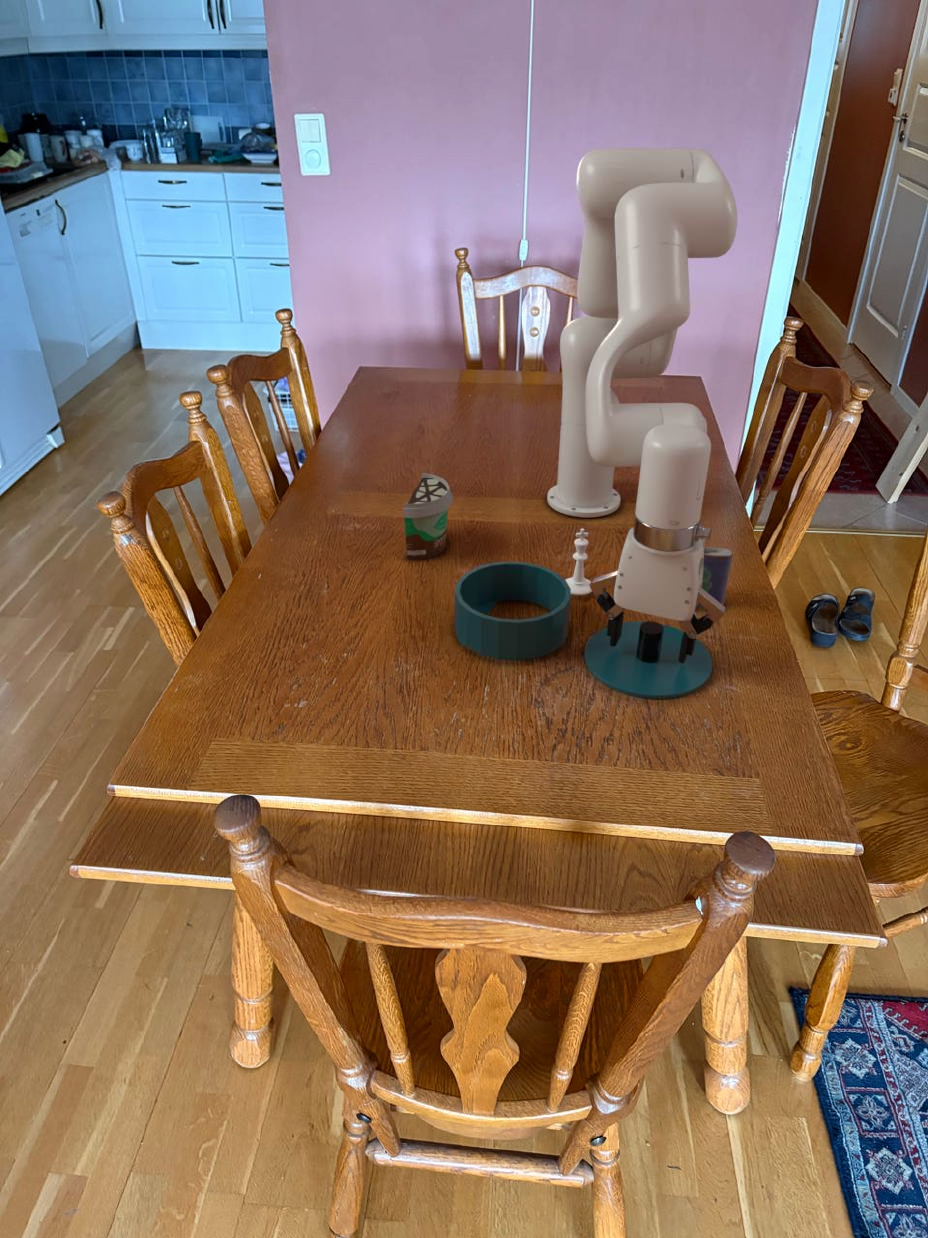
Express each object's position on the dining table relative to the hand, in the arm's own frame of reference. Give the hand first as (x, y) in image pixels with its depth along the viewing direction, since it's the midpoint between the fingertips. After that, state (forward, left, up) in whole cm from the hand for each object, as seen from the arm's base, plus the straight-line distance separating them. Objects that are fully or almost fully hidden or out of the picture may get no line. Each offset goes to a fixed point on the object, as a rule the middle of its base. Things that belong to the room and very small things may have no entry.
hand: (649, 648), depth 118 cm
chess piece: (-14, -14, -3) cm, 20 cm away
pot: (0, -19, -2) cm, 19 cm away
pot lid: (0, 0, -2) cm, 2 cm away
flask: (-17, +2, -3) cm, 17 cm away
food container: (-17, -39, -3) cm, 43 cm away
